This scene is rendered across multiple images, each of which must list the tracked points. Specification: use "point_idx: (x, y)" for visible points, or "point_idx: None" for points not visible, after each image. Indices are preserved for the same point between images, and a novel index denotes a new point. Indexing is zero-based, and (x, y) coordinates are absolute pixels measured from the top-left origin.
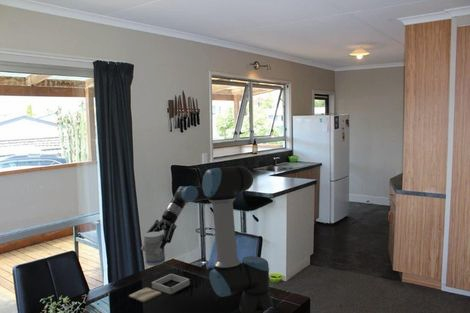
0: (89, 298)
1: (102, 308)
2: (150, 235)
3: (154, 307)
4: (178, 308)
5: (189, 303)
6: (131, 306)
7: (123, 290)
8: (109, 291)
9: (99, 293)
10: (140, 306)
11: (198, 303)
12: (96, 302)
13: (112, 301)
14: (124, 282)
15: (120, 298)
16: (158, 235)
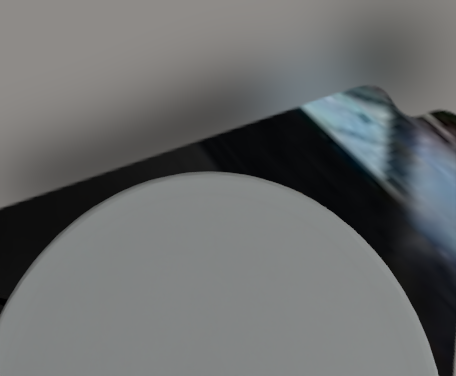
0: (427, 136)
1: (323, 98)
2: (216, 271)
3: (163, 159)
4: (82, 180)
5: (58, 224)
6: (241, 139)
7: (362, 234)
8: (408, 207)
9: (429, 180)
10: (212, 149)
11: (27, 235)
12: (377, 121)
13: (330, 145)
14: (423, 307)
15: (320, 173)
16: (22, 322)
